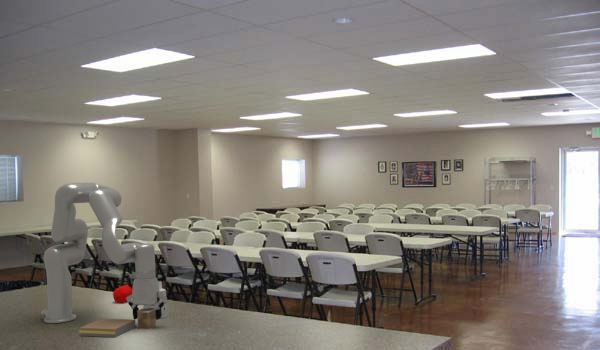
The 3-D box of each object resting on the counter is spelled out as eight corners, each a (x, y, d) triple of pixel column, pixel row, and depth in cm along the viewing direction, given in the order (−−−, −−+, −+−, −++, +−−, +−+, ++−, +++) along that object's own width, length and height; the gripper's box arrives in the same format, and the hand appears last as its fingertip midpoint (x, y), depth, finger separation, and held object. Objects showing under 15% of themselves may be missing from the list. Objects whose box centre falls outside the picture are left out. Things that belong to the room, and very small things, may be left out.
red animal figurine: (107, 292, 267) (116, 289, 275) (114, 307, 266) (123, 303, 274) (120, 286, 265) (129, 282, 273) (127, 300, 265) (136, 296, 273)
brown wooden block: (137, 328, 219) (137, 310, 219) (144, 325, 224) (143, 307, 224) (149, 329, 218) (149, 311, 218) (156, 325, 223) (155, 308, 223)
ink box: (147, 320, 231) (146, 285, 231) (143, 318, 236) (142, 283, 236) (167, 317, 236) (166, 282, 236) (163, 315, 240) (162, 280, 240)
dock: (79, 336, 211) (79, 328, 211) (101, 326, 225) (101, 318, 225) (114, 337, 207) (114, 329, 207) (135, 327, 221) (135, 319, 221)
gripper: (120, 276, 220) (122, 320, 220) (160, 276, 216) (162, 321, 215) (131, 273, 227) (132, 316, 227) (170, 273, 223) (171, 316, 223)
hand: (147, 318), depth 221 cm, fingers open, 9 cm apart
